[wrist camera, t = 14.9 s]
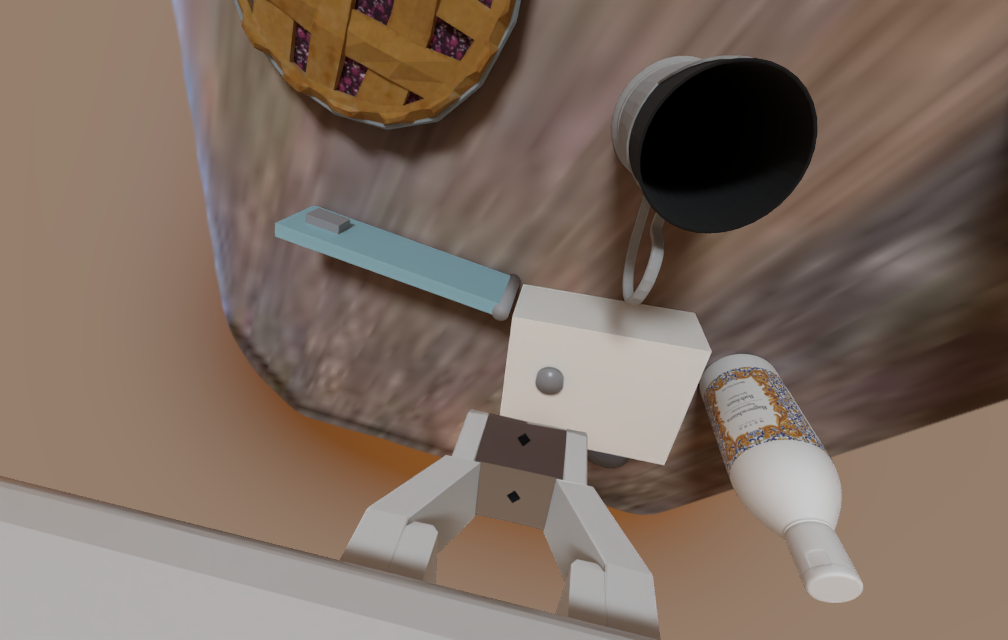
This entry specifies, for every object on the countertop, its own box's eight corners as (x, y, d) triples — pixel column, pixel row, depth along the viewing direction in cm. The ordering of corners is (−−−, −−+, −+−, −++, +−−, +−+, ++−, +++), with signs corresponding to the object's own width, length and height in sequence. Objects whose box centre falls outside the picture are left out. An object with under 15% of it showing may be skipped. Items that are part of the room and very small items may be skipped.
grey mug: (759, 77, 30) (884, 77, 17) (666, 257, 37) (705, 352, 24) (640, 38, 30) (676, 9, 17) (570, 226, 37) (559, 303, 25)
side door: (517, 289, 41) (505, 323, 36) (315, 216, 41) (271, 238, 36) (524, 270, 40) (513, 302, 35) (317, 195, 40) (272, 215, 35)
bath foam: (757, 339, 39) (883, 539, 22) (788, 391, 42) (925, 611, 24) (685, 370, 42) (748, 568, 25) (717, 417, 44) (795, 630, 27)
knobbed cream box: (694, 313, 39) (714, 357, 33) (648, 437, 47) (656, 491, 41) (522, 283, 41) (509, 320, 35) (505, 408, 49) (492, 456, 43)
